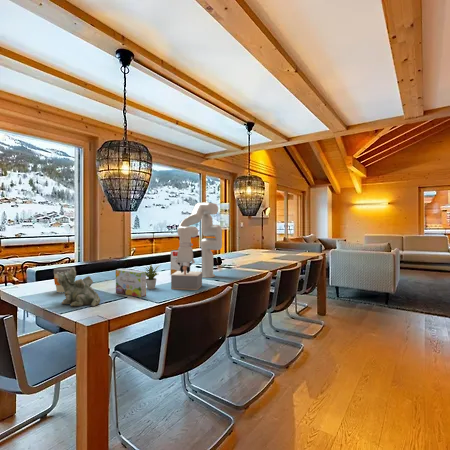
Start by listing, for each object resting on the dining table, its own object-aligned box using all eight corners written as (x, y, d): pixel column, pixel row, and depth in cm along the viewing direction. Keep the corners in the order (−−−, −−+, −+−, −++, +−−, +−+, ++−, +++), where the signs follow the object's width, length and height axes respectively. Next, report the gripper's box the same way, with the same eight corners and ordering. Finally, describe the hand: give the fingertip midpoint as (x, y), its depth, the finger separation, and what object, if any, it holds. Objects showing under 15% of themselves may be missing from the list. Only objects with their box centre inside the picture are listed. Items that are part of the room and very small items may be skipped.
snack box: (114, 293, 186) (114, 269, 185) (121, 291, 191) (121, 268, 190) (140, 297, 176) (140, 272, 176) (146, 295, 181) (146, 270, 181)
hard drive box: (170, 274, 249) (170, 251, 249) (173, 273, 256) (173, 250, 256) (188, 275, 246) (188, 251, 246) (190, 273, 254) (190, 250, 254)
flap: (197, 276, 195) (197, 266, 195) (171, 275, 198) (171, 265, 198) (202, 272, 209) (202, 263, 209) (177, 271, 212) (177, 262, 212)
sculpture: (71, 297, 176) (71, 263, 175) (109, 301, 167) (109, 266, 167) (47, 304, 160) (47, 267, 160) (87, 309, 151) (87, 270, 151)
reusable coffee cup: (48, 292, 186) (48, 268, 186) (66, 288, 198) (66, 266, 198) (63, 294, 182) (63, 270, 181) (80, 290, 193) (80, 267, 193)
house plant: (153, 284, 211) (153, 261, 211) (166, 287, 203) (166, 263, 203) (136, 288, 199) (136, 264, 199) (150, 291, 191) (150, 266, 191)
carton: (177, 284, 212) (177, 271, 212) (202, 285, 209) (202, 272, 209) (171, 288, 198) (171, 275, 198) (197, 289, 196) (197, 276, 195)
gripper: (198, 245, 201) (198, 271, 201) (175, 244, 203) (175, 271, 204) (195, 245, 193) (195, 273, 194) (171, 245, 196) (171, 273, 196)
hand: (185, 272), depth 199 cm, fingers closed on flap, 3 cm apart
